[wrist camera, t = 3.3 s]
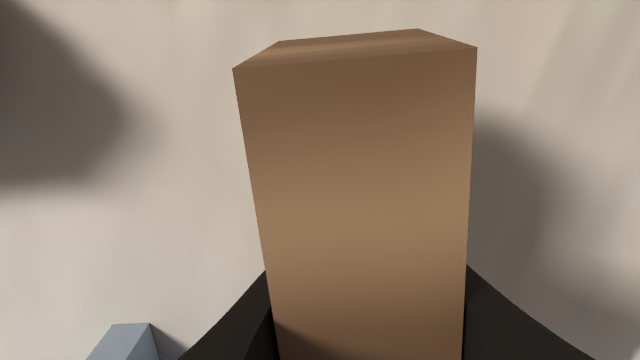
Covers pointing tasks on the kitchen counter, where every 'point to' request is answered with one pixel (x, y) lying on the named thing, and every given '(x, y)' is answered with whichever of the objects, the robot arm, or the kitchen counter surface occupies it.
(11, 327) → the kitchen counter surface
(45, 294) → the kitchen counter surface
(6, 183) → the kitchen counter surface
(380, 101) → the brown block
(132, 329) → the blue-grey stepped platform
